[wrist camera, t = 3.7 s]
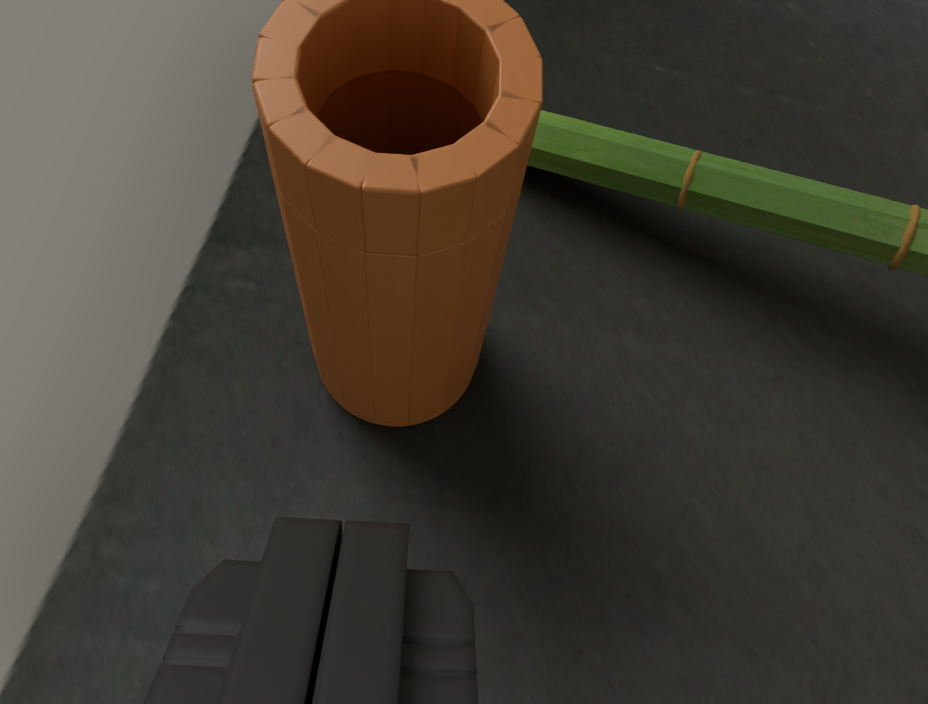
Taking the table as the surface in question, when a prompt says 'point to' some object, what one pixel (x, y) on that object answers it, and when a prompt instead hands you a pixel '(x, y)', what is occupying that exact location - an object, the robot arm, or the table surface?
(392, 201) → the jar
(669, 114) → the table surface
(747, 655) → the table surface
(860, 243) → the decorative plant
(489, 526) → the table surface
